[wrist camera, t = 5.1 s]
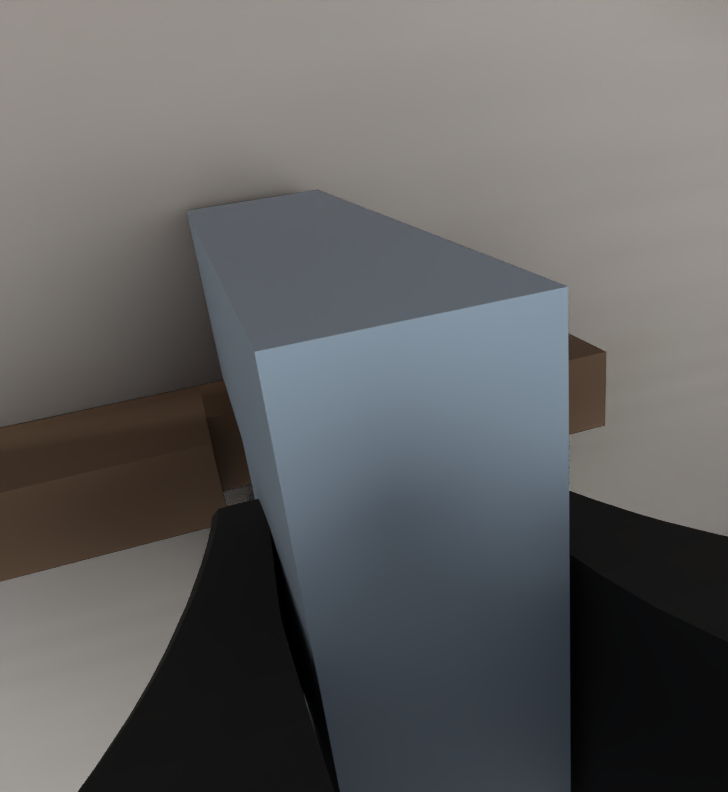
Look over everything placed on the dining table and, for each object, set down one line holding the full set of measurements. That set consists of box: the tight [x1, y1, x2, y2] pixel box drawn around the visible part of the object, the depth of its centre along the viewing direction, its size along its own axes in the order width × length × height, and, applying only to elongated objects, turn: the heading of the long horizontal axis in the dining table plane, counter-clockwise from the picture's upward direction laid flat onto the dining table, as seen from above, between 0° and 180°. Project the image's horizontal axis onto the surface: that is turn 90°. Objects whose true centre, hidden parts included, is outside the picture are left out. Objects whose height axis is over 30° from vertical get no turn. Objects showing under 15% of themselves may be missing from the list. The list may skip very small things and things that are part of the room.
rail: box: [0, 333, 606, 581], centre depth 14 cm, size 2×12×3 cm, turn 96°
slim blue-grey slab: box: [187, 190, 571, 792], centre depth 11 cm, size 9×2×8 cm, turn 7°
